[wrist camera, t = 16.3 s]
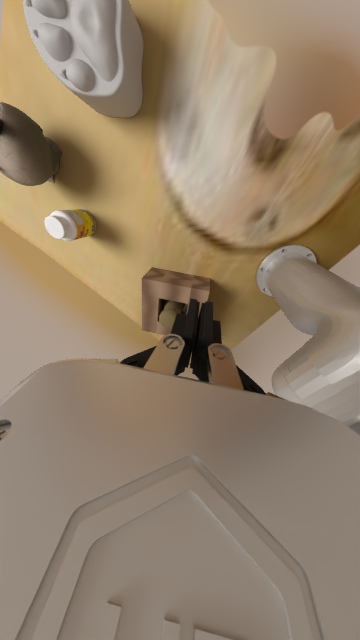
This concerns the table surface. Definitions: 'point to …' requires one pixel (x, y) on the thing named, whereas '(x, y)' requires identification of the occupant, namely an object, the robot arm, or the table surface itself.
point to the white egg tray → (91, 50)
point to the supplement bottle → (70, 224)
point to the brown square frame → (169, 295)
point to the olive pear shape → (170, 313)
